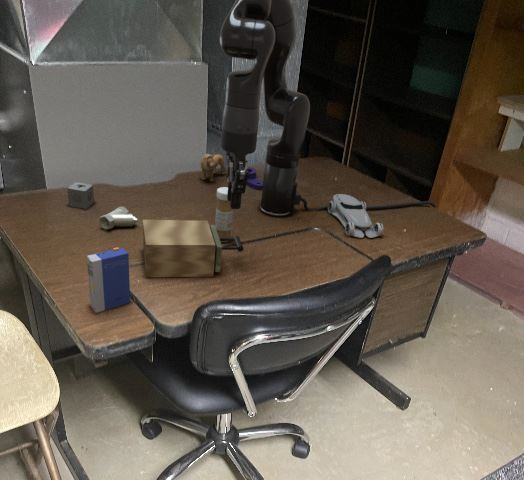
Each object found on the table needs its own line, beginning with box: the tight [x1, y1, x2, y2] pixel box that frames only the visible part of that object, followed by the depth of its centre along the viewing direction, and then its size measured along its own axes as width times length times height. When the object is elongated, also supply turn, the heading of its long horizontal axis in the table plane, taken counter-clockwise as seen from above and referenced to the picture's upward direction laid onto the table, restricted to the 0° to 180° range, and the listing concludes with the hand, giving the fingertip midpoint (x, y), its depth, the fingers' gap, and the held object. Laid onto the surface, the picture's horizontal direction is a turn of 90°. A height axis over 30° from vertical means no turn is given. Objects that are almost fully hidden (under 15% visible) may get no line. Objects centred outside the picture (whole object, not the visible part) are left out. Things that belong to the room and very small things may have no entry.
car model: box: [327, 193, 384, 239], centre depth 165 cm, size 11×24×5 cm, turn 12°
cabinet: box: [142, 219, 215, 278], centre depth 132 cm, size 15×13×8 cm
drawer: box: [209, 224, 244, 273], centre depth 133 cm, size 20×12×6 cm, turn 102°
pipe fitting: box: [98, 205, 138, 230], centre depth 145 cm, size 8×4×7 cm
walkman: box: [86, 247, 131, 313], centre depth 113 cm, size 8×3×12 cm, turn 130°
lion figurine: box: [200, 153, 226, 182], centre depth 180 cm, size 15×5×9 cm, turn 162°
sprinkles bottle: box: [214, 186, 234, 243], centre depth 143 cm, size 5×5×14 cm
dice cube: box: [66, 181, 95, 210], centre depth 153 cm, size 5×5×5 cm
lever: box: [246, 166, 263, 191], centre depth 182 cm, size 12×6×3 cm, turn 36°
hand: (233, 204), depth 128 cm, fingers open, 3 cm apart
